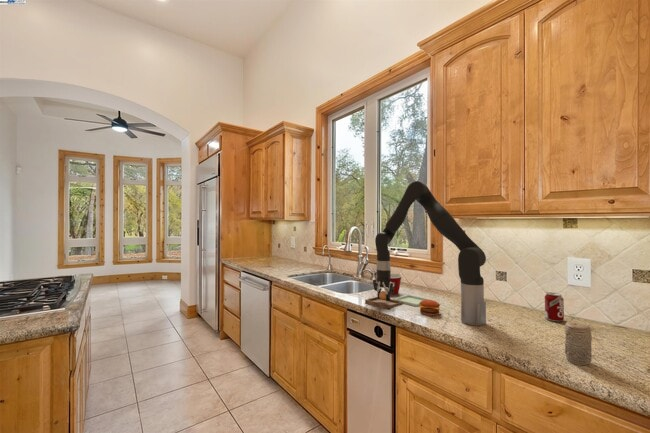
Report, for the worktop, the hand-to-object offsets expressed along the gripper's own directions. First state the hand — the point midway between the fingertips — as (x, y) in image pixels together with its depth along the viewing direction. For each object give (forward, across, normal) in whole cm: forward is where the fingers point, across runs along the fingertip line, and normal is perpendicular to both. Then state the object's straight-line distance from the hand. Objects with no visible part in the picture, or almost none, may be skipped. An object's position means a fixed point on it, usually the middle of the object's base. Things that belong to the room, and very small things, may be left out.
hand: (383, 299), depth 159 cm
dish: (+2, -8, -15) cm, 17 cm away
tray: (+2, 0, 0) cm, 2 cm away
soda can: (+3, -67, -38) cm, 77 cm away
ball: (0, 0, 0) cm, 0 cm away
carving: (+3, -82, +6) cm, 82 cm away
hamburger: (+3, -25, -4) cm, 25 cm away
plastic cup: (+3, +10, -22) cm, 24 cm away
